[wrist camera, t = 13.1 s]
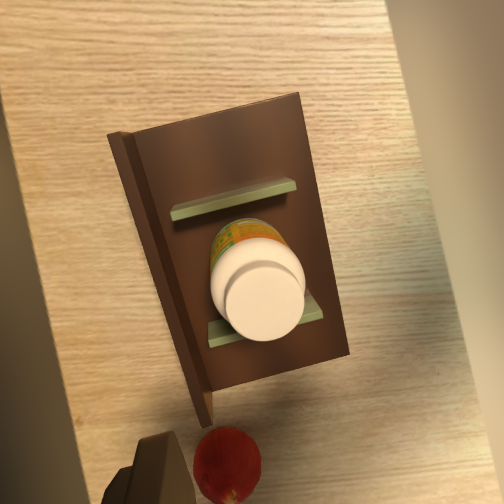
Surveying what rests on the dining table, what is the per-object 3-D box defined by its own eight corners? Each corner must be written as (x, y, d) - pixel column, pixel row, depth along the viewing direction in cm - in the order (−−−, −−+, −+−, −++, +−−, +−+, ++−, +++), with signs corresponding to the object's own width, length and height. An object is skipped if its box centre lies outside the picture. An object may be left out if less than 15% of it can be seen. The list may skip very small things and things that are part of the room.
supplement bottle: (218, 209, 29) (223, 242, 20) (292, 225, 30) (331, 264, 20) (203, 282, 30) (200, 345, 21) (274, 295, 31) (303, 362, 22)
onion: (224, 471, 41) (228, 548, 33) (181, 437, 39) (174, 509, 31) (268, 433, 40) (282, 503, 32) (226, 397, 38) (230, 461, 31)
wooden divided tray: (285, 98, 32) (313, 83, 24) (332, 327, 38) (368, 383, 29) (134, 136, 32) (106, 134, 23) (203, 362, 37) (201, 428, 29)
